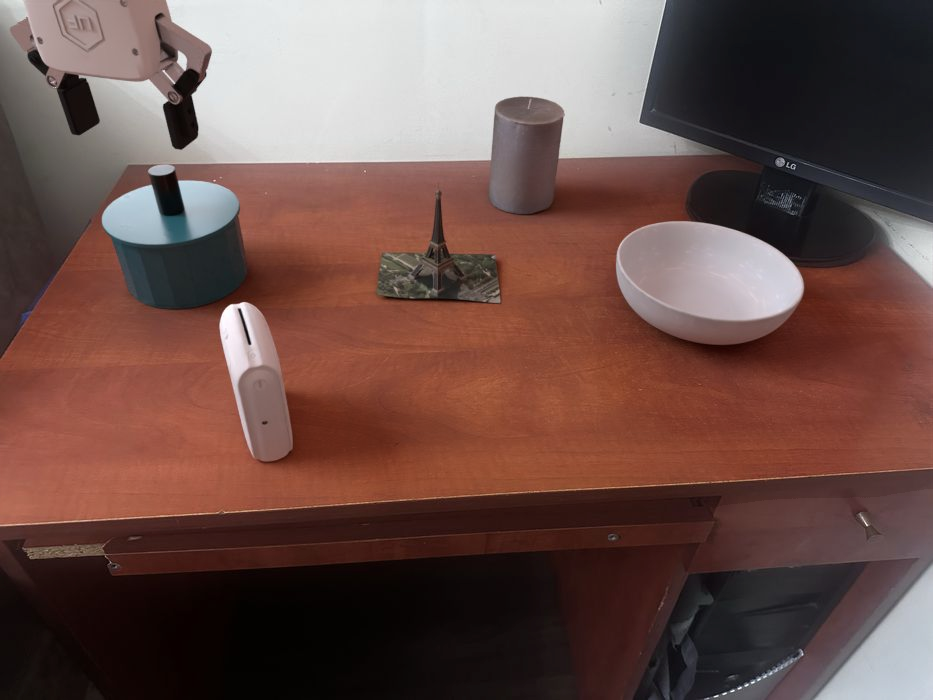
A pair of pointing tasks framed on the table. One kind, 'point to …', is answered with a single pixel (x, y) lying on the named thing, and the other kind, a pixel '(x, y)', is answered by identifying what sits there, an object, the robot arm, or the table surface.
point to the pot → (185, 270)
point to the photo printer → (256, 381)
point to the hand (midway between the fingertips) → (135, 136)
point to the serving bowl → (707, 282)
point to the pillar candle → (525, 154)
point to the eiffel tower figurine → (439, 271)
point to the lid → (170, 212)
